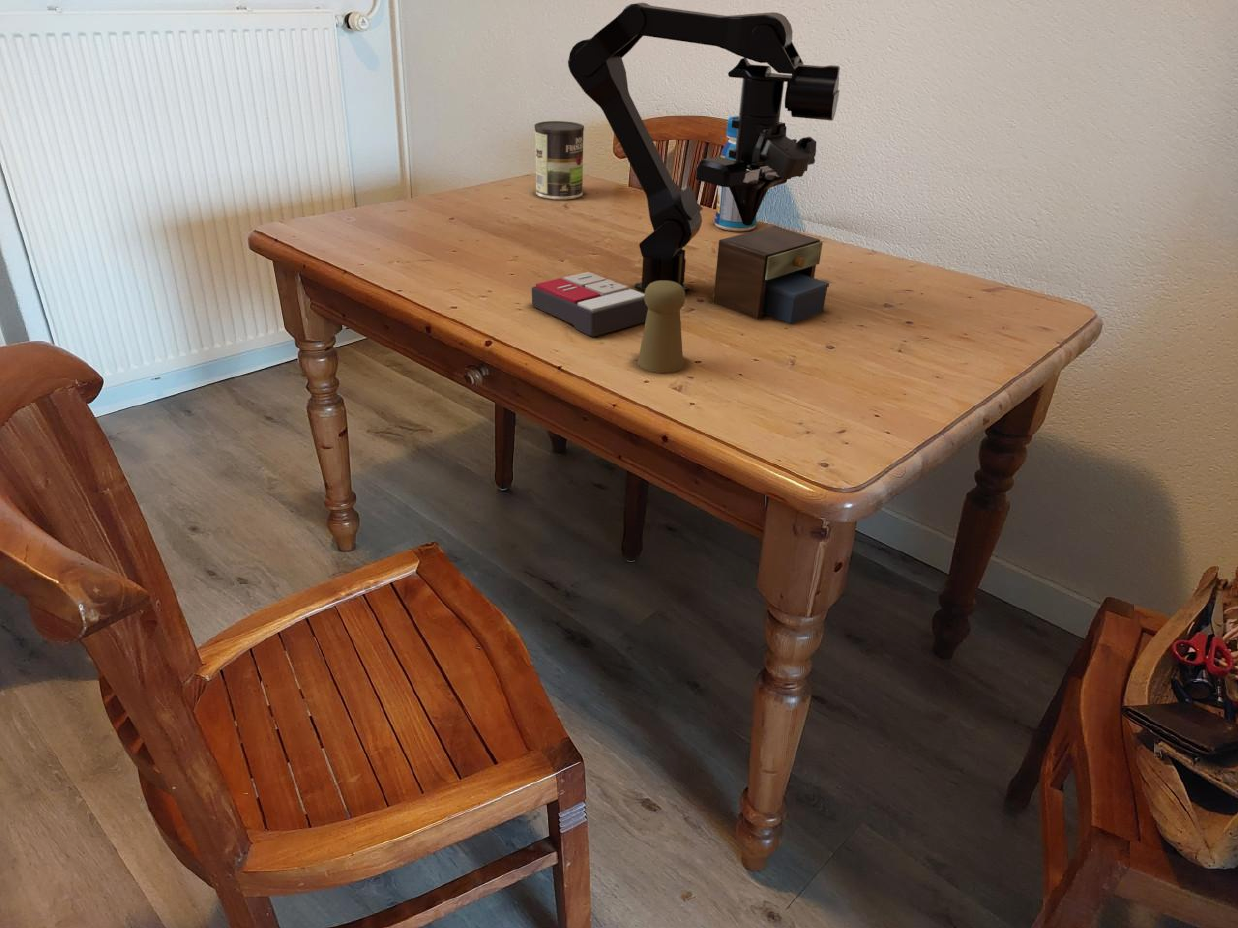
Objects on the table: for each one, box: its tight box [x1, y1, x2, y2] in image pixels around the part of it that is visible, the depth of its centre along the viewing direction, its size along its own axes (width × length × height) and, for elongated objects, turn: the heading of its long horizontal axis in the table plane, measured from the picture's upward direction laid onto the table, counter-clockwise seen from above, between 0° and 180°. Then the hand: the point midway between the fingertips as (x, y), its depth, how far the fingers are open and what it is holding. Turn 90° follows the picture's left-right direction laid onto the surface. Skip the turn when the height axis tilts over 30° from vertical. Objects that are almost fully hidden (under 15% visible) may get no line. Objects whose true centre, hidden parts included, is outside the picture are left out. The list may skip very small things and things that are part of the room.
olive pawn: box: [637, 280, 686, 374], centre depth 113 cm, size 6×6×11 cm
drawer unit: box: [712, 225, 821, 320], centre depth 134 cm, size 13×9×10 cm
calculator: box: [531, 271, 648, 337], centre depth 129 cm, size 11×4×15 cm
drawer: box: [765, 241, 824, 280], centre depth 132 cm, size 13×10×3 cm
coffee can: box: [534, 120, 585, 201], centre depth 185 cm, size 10×10×14 cm
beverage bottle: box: [714, 115, 758, 232], centre depth 167 cm, size 8×8×20 cm
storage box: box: [762, 272, 830, 325], centre depth 134 cm, size 8×12×5 cm
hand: (747, 225), depth 130 cm, fingers closed
